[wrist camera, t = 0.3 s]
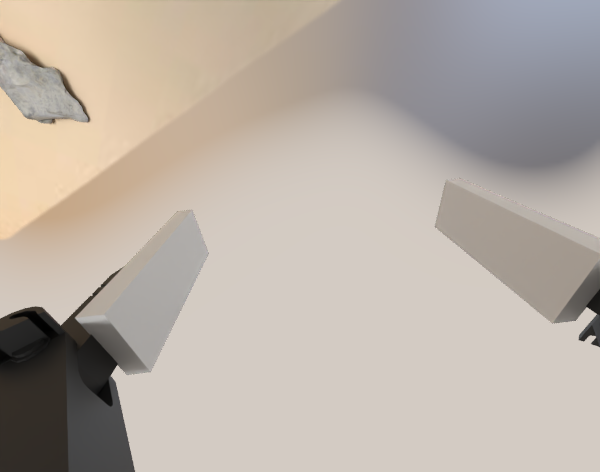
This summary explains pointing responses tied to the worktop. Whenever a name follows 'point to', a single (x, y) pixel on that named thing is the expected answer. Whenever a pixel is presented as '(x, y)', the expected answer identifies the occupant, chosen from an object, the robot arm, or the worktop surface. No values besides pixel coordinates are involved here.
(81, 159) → the worktop surface
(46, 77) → the mineral specimen
